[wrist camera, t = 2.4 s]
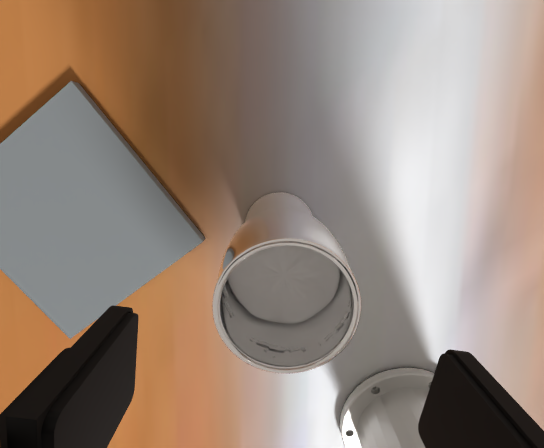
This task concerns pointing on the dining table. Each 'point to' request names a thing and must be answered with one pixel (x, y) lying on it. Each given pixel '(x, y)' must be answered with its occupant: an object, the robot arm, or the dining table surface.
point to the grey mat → (83, 213)
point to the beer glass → (285, 289)
